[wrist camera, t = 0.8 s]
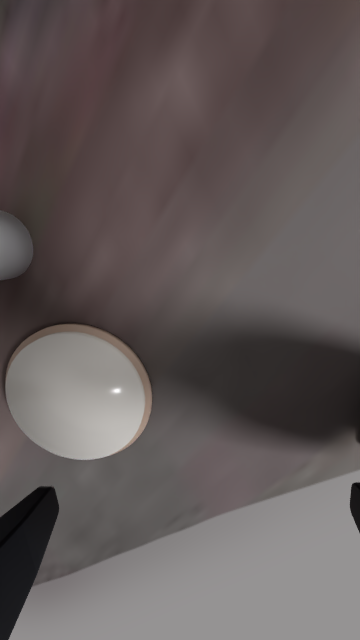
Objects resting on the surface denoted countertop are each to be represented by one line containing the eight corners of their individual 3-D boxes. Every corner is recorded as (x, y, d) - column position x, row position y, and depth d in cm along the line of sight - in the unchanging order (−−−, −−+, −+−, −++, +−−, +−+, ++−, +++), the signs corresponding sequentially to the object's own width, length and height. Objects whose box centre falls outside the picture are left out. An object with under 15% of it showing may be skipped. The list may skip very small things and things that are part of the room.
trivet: (145, 319, 20) (142, 324, 19) (158, 454, 23) (156, 464, 22) (-6, 326, 21) (-18, 330, 20) (26, 454, 24) (17, 464, 23)
